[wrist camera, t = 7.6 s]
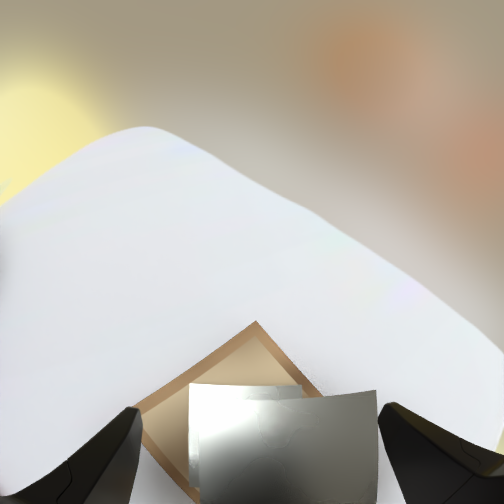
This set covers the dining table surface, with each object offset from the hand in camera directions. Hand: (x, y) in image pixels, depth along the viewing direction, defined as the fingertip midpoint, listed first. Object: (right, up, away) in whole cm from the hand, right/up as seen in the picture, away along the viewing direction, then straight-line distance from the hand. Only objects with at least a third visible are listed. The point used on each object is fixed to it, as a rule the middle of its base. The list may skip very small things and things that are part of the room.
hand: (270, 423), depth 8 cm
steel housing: (-1, -5, +6) cm, 8 cm away
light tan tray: (-1, -7, +8) cm, 11 cm away
